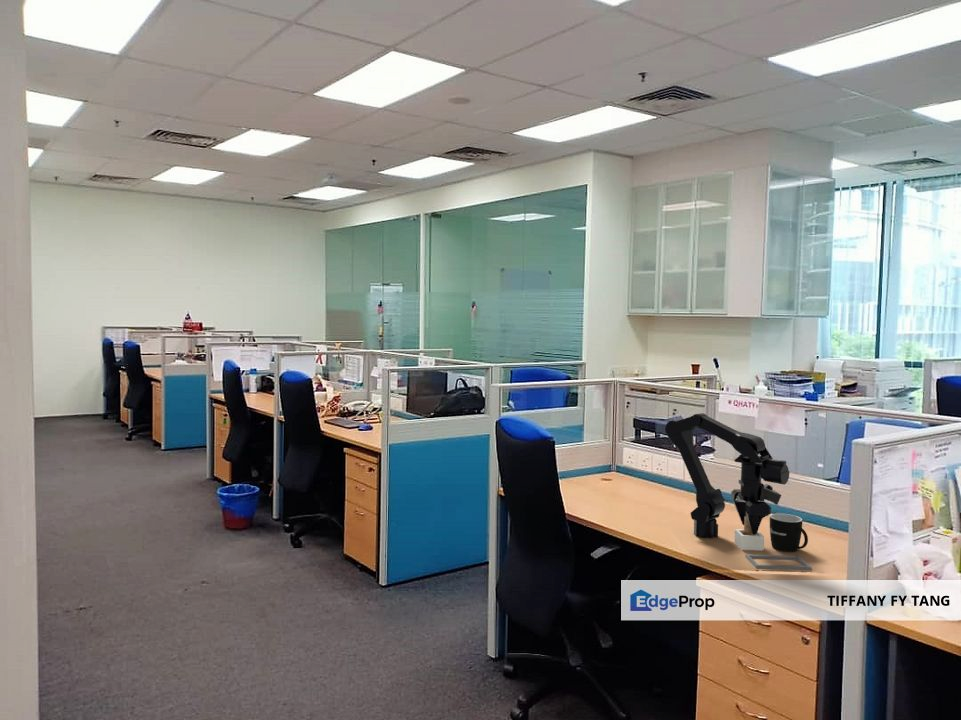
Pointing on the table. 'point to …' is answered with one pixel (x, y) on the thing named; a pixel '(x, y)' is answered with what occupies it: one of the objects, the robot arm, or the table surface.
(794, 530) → the mug
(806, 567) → the grey rectangular frame
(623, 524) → the table surface
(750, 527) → the robot arm
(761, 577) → the table surface
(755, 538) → the white open box
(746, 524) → the pin
